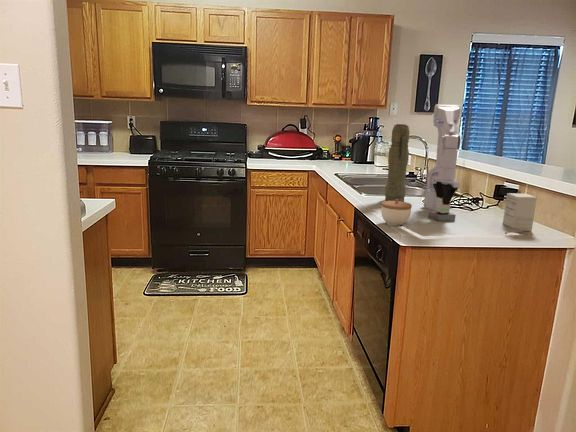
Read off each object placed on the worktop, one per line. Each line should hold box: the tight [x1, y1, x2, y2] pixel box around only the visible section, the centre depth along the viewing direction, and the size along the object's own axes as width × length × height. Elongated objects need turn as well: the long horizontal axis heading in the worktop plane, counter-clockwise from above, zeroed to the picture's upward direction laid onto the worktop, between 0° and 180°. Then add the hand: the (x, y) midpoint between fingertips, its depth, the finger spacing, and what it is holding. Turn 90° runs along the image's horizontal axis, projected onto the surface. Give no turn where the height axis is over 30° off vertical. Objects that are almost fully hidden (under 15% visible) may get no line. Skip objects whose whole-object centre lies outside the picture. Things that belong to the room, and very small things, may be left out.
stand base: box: [427, 210, 456, 223], centre depth 168 cm, size 16×18×4 cm
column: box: [434, 197, 451, 213], centre depth 167 cm, size 4×4×6 cm
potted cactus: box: [384, 123, 410, 202], centre depth 201 cm, size 9×12×35 cm
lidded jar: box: [380, 199, 413, 227], centre depth 161 cm, size 11×11×9 cm
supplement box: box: [502, 192, 538, 232], centre depth 161 cm, size 7×7×13 cm
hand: (443, 203), depth 167 cm, fingers closed on column, 4 cm apart
